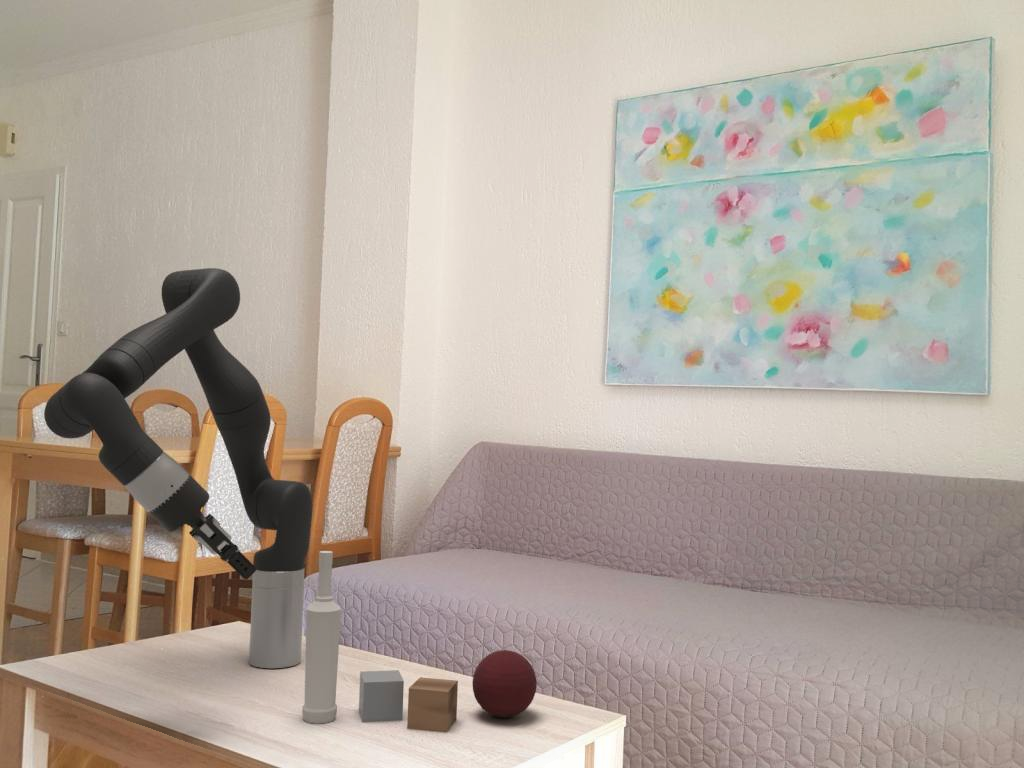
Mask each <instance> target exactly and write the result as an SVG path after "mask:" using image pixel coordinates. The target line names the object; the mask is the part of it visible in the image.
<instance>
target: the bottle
mask: <svg viewBox="0 0 1024 768" xmlns="http://www.w3.org/2000/svg"><path fill="white" fill-rule="evenodd" d="M333 553H334V552H333V551H331V550H321V551H319V555H318V578H317V579H318V585H317V595H316V596H315V597H314V601H312V602H311V603H310V604H309V605H308V606H307V607H306V608H305V609H306V612H305V613H306V617H305V622H306V623H305V655H304V656H305V660H304V661H305V662H304V663H305V665H304V669H305V670H304V704H303V705H302V718H303V719H302V720H303V721H304V722H306V723H309V724H317V725H319V724H328V723H330V722H333V721H335V720H336V718H337V712H338V711H337V710H338V705H337V704H336V699H337V696H336V695H337V683H338V667H339V650H340V647H339V646H340V635H341V633H340V632H341V618H342V617H341V616H342V615H341V614H342V607H341V606H340V605H339V604H338V603H337V602H336V601H335V600H334V597H333V596H332V579H333V578H332V575H333V574H332V573H333V561H334V560H333V556H334V554H333Z"/></svg>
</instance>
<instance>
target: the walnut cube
mask: <svg viewBox="0 0 1024 768" xmlns="http://www.w3.org/2000/svg"><path fill="white" fill-rule="evenodd" d="M458 684H459V681H458V680H455V679H454V680H453V679H446V678H445V679H442V678H433V677H432V678H431V677H422V676H421V677H419V678H417V680H415V681H414V682H413V683H412V684H411V686H409V688H408V699H407V700H408V701H407V721H406V722H407V724H406V725H407V726H406V729H407V730H416V731H417V730H418V731H425V732H427V731H428V732H437V733H445V734H446V733H448V731H449V730H450V729H451V727H452V726H453V725H454V723H456V721H457V719H458V718H457V713H458V712H457V711H458V690H459V689H458V686H459V685H458Z"/></svg>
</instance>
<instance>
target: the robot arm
mask: <svg viewBox="0 0 1024 768" xmlns="http://www.w3.org/2000/svg"><path fill="white" fill-rule="evenodd" d="M161 299H162V305H163V308H164V311H165V314H163V315H161V316H159V317H157V318H155V319H153V320H152V319H151V320H150V321H148V322H146V323H144V324H142V325H140V326H138V327H136V328H134V329H133V330H130V331H129V332H127V333H125V334H124V335H123V336H121V337H120V338H119V339H117V340H116V341H115V342H114V343H113V344H112V345H110V346H109V347H108V348H106V349H105V350H104V351H103V352H102V353H101V354H100V355H99V356H98V357H97V358H96V359H95V360H94V361H93V363H92V364H91V365H89V367H87V368H86V369H85V370H84V371H83V372H82V373H79V374H77V375H75V376H74V377H72V378H71V379H69V381H67V382H66V383H65V384H64V385H63V386H61V387H60V388H59V389H58V390H57V391H56V392H54V394H53V395H52V396H50V397H49V399H48V401H47V402H46V404H45V407H44V411H43V415H44V416H43V417H44V421H45V424H46V426H47V428H48V429H49V430H50V432H51V433H53V434H54V435H57V436H58V437H60V438H64V439H78V438H79V439H80V438H82V437H85V436H87V435H88V434H90V433H91V432H93V431H94V432H95V435H97V437H98V439H100V441H101V443H102V447H101V448H100V450H99V453H98V460H99V461H100V463H101V464H102V466H103V467H104V468H105V469H106V470H107V471H108V472H109V473H110V474H111V475H112V476H113V477H114V478H116V480H118V482H119V483H120V484H121V485H123V486H124V488H125V489H126V490H127V491H128V492H129V494H130V495H131V496H132V498H133V499H134V500H135V501H136V502H137V503H138V504H139V505H141V507H142V508H144V510H146V512H147V513H148V514H149V515H150V516H152V517H153V518H154V520H155V521H157V523H159V525H161V526H162V527H163V528H164V530H166V531H167V532H169V533H173V532H174V533H175V532H176V531H178V530H179V529H181V528H182V527H184V525H187V526H188V527H190V528H191V530H190V531H189V532H188V534H189V535H190V536H191V537H192V538H193V539H194V540H195V541H196V542H197V543H198V544H201V545H203V546H204V548H206V549H207V550H208V551H209V552H210V554H212V555H213V556H214V555H218V556H219V558H220V560H221V561H223V562H224V563H226V564H229V566H230V567H231V568H232V569H233V570H234V571H236V573H237V574H238V575H239V576H241V577H242V579H243V580H248V579H249V578H250V577H252V580H251V581H252V585H251V586H252V587H251V605H250V606H251V612H250V630H249V631H250V637H249V659H248V664H249V665H250V666H252V667H255V668H260V669H283V668H290V667H294V666H297V665H299V664H300V663H301V661H302V639H303V615H304V591H305V570H306V569H305V566H306V559H307V557H308V556H307V555H308V552H309V548H310V538H311V527H312V520H313V519H312V518H313V497H312V496H313V495H312V492H311V490H310V488H309V487H308V485H307V484H306V483H304V482H301V481H298V480H297V481H295V480H293V481H292V480H284V479H282V480H281V479H274V477H273V476H272V474H271V472H270V469H269V466H268V465H267V461H266V459H265V448H266V442H267V440H268V436H269V432H270V428H271V422H272V421H271V411H270V408H269V406H268V403H267V400H266V398H265V397H266V396H265V395H264V392H263V390H262V387H261V385H260V382H259V381H258V379H257V378H256V377H255V376H254V374H253V373H252V372H251V371H250V370H249V369H248V368H247V367H246V366H245V365H243V363H241V361H239V360H238V359H237V358H236V357H235V356H234V355H233V354H232V353H231V352H229V350H228V349H227V348H226V347H225V346H224V345H223V344H222V342H221V341H220V338H219V337H218V335H217V334H216V332H215V330H216V329H218V328H219V327H221V326H222V325H224V324H225V323H227V322H228V321H230V320H231V319H232V318H234V316H235V315H236V313H237V312H238V310H239V307H240V303H241V291H240V287H239V283H238V281H237V280H236V278H235V277H234V275H232V274H231V272H229V271H227V270H225V269H222V268H216V267H215V268H211V267H206V268H200V269H199V268H198V269H185V270H177V271H174V272H173V271H172V272H170V273H168V274H167V275H166V276H165V278H164V279H163V282H162V285H161ZM183 350H184V351H185V354H187V356H188V359H189V361H190V363H191V365H192V367H193V370H194V372H195V374H196V376H197V379H198V382H199V383H200V386H201V388H202V390H203V393H204V395H205V398H206V401H207V404H208V407H209V409H210V411H211V414H212V416H213V419H214V422H215V425H216V426H217V429H218V431H219V434H220V437H221V438H222V440H223V444H224V446H225V449H226V452H227V454H228V456H229V460H230V463H231V465H232V468H233V471H234V473H235V477H236V481H237V485H238V489H239V492H240V497H241V501H242V504H243V506H244V509H245V510H244V511H245V513H246V515H247V517H248V519H249V521H250V522H251V524H253V525H254V526H255V527H256V528H259V529H262V530H270V531H276V532H275V538H274V542H273V544H271V545H270V546H269V547H266V548H263V549H260V550H257V551H256V552H255V553H254V554H253V561H252V562H251V561H250V560H249V559H248V558H247V557H246V556H245V555H244V554H243V553H242V552H241V550H240V549H239V547H238V545H237V544H236V543H233V542H232V536H231V535H230V534H229V533H228V532H227V531H226V530H225V529H224V528H223V527H222V526H221V523H220V521H218V520H217V518H215V516H213V515H212V514H211V513H208V514H207V515H206V516H205V515H203V512H202V508H203V507H205V506H206V505H207V503H208V502H209V500H210V493H209V492H208V491H207V490H206V489H205V488H204V487H202V486H201V484H200V483H199V481H197V480H196V479H195V478H194V477H193V476H192V475H191V474H190V473H189V472H188V471H187V470H186V469H185V468H184V467H182V465H181V464H180V463H179V462H178V461H177V460H176V459H174V457H171V456H170V455H169V454H168V453H166V452H165V451H164V450H163V448H162V447H160V446H159V444H157V442H155V441H154V439H152V438H151V437H150V435H148V434H147V432H145V431H144V430H143V428H142V426H141V424H140V423H139V420H138V419H137V417H136V415H135V414H134V412H133V410H132V409H131V407H130V405H129V404H128V402H127V401H126V399H127V398H128V397H129V396H131V395H132V394H134V393H135V392H136V391H137V390H139V389H140V388H141V387H142V386H143V385H144V384H145V383H146V382H148V380H150V378H152V377H153V376H154V375H155V374H156V373H157V372H158V371H160V369H161V368H162V367H164V365H165V364H167V363H168V362H169V361H171V360H172V359H173V358H175V357H176V356H177V355H178V354H180V353H181V352H183Z"/></svg>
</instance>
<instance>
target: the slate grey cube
mask: <svg viewBox="0 0 1024 768" xmlns="http://www.w3.org/2000/svg"><path fill="white" fill-rule="evenodd" d="M404 684H405V680H404V678H403V676H402V674H401V672H400V670H398V669H397V670H396V669H394V670H392V669H391V670H371V671H370V670H369V671H368V670H367V671H366V670H365V671H364V670H363V671H360V673H359V697H358V712H359V716H360V719H361V722H362V723H378V722H397V721H398V722H400V721H402V722H403V713H404V712H403V711H404V710H403V709H404V686H405V685H404Z"/></svg>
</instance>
